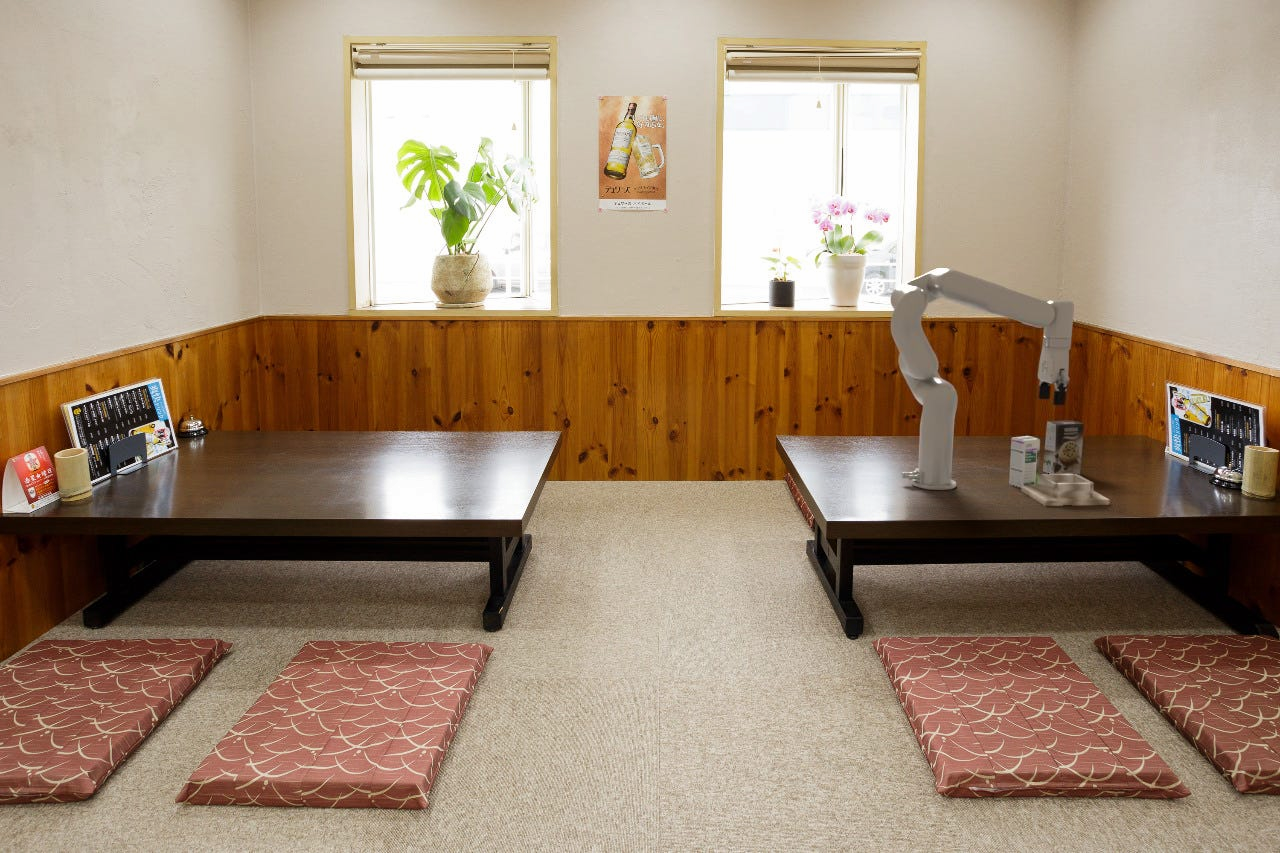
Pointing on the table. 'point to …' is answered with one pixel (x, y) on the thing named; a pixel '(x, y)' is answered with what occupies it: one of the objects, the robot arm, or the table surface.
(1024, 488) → the holder
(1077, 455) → the coffee box
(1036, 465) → the syrup box
